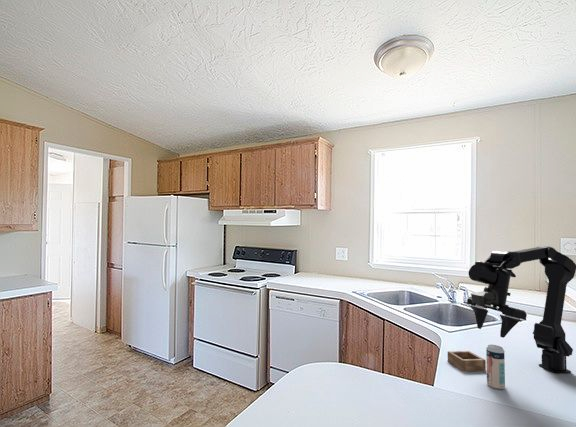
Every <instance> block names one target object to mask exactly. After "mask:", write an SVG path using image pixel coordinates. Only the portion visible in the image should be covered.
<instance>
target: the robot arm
mask: <svg viewBox="0 0 576 427" xmlns="http://www.w3.org/2000/svg"><path fill="white" fill-rule="evenodd" d="M531 261H532V262H533V261H538V262H539V263H540V264H541V265H542V266H543V267H544V274H545V276H546V277H547V278H546V279H547V280H548V282H547V283H548V284H547V290H546V296H545V297H546V298H545V304H544V310H543V316H542V319H541V321H539V322H535V323H534V324H533V332H532V334H533V340H534V342H535V345H536V348H538V349H541V363H539V364H538V366H539V367H541V368H542V369H543V368H544V369H545V370H548V371H550V372H552V373H555V374H563V373H566V374H568V373H572V371H571V370H570V369H567V357H570V356H573V352H574V349H573V347H571V345H570V344H569V343H568V342H567V341H566V331H565V330H564V328H563V326H562V320H563V319H562V318H563V317H562V316H563V312H564V311H563V310H564V305H565V298H566V293H567V292H566V291H567V284H569V282H570V281H572V280H573V279H574V277H575V275H576V274H575V273H576V263H575V261H574V260H572V259H571V258H570V257H569V256H567V255H565V254H563V253H561V251H560V252H559V251H558V250H556V249H555V248H554V247H552V246H546V245H545V246H543V245H539V246H536V247H532V248H525V249H520V250H515V251H509V250H508V251H506V250H493V251H492V252H490V255H489V256H488V257H487V258H486V259H485V260H484V262H483V261H480V260H478V261H477V260H476V261H475V262H474V264H473V265H471V266H470V268H469V270H468V277H469V278H470V280H471V281H473V282H478V283H481V284H484V285H488V286H485V287H484V288H483V291H475V292H472V293H470V296H469V297H468V298H467V300H466V304H467V305H469V306H468V307H469V308H471V309H472V310H473V313H474V316H475V321H476V326H477V329H479V330H481V329H482V328H483V326H484V323H485V322H486V321H485V320H486V317H487V315H488V313H489V310H488V309H490V310H494V311H497V312H501V314H499V317H500V319H501V327H500V334H499V336H500V338H505V337H506V336H507V335H508V334H509V332H510V331H511V330H512V329H514V327H515V326H516V325H517V324H518V323H519V322H520V323H522V321H523V320H524V321H526V320H527V313H526V311H525V310H523V309H519V308H515V307H511V306H509V304H507V300H508V299H507V298H508V297H511V294H512V293H511V292H509V288H510V280H511V278H516V277H517V275H516V274H515V273H514V272H513V269H515V268H517V267H519V266H520V265H521V264H522V263H527V262H531Z"/></svg>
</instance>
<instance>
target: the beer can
mask: <svg viewBox="0 0 576 427" xmlns="http://www.w3.org/2000/svg"><path fill="white" fill-rule="evenodd" d="M485 350H486V354H485V355H486V384H487V385H488V387H490V388H493V389H495V390H504V389H505V388H506V371H505V370H506V369H505V368H506V367H505V366H506V362H505V350H504V348H503V347H502V346H501V345H496V344H488V345H487V346H486V349H485Z"/></svg>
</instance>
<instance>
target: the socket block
mask: <svg viewBox="0 0 576 427" xmlns="http://www.w3.org/2000/svg"><path fill="white" fill-rule="evenodd" d="M447 362H448V363H450V364H451V365H453V366H454V367H456V368H457V369H459V370H461V371H462V372H470V371H471V372H472V371H473V372H474V371H475V372H476V371H487V359H485V358H483V357H481V356H479V355H478V354H476V353H473V352H472V351H469V350H453V351H452V350H451V351H447Z"/></svg>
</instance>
